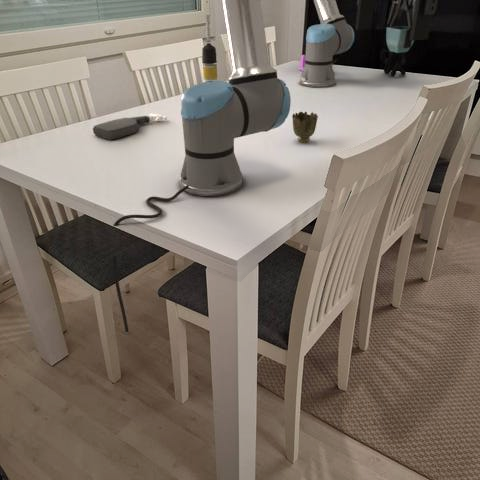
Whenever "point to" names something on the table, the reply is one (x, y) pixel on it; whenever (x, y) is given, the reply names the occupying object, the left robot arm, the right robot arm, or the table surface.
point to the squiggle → (392, 62)
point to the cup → (304, 125)
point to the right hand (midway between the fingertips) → (399, 46)
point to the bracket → (302, 62)
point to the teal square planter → (397, 39)
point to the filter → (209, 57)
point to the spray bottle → (123, 126)
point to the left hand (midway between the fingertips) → (388, 34)
